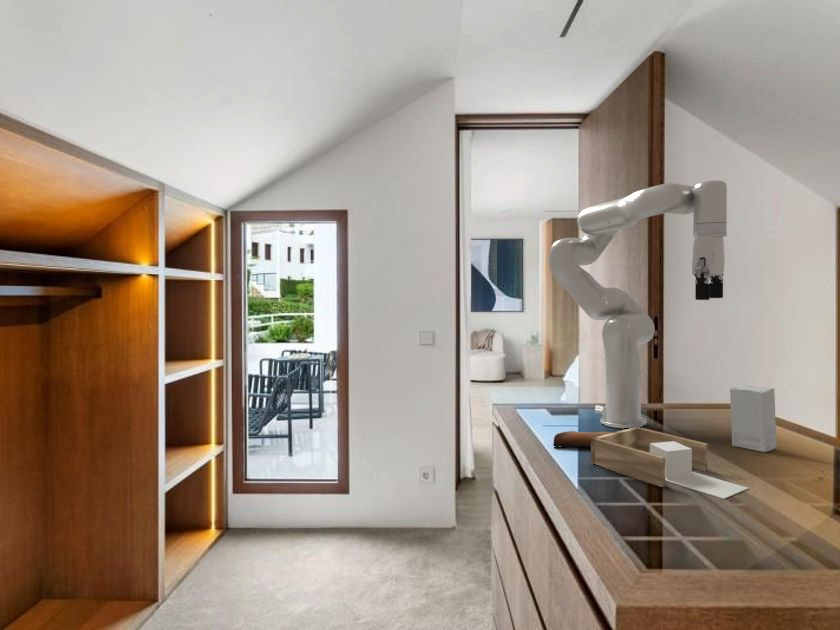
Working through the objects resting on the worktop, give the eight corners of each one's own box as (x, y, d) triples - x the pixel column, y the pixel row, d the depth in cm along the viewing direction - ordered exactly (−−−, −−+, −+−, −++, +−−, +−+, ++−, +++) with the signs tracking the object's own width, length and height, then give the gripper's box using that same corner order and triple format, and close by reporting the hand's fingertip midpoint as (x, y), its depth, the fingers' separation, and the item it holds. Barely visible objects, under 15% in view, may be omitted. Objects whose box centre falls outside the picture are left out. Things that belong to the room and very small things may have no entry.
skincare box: (776, 448, 139) (777, 388, 138) (764, 453, 136) (765, 391, 135) (741, 441, 146) (742, 383, 145) (728, 445, 143) (729, 386, 142)
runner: (611, 464, 132) (612, 463, 132) (637, 456, 136) (637, 455, 136) (723, 499, 110) (723, 498, 110) (748, 488, 115) (748, 487, 115)
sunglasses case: (623, 441, 149) (625, 422, 145) (627, 462, 143) (628, 443, 140) (552, 438, 153) (552, 421, 149) (553, 459, 147) (552, 441, 143)
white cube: (691, 476, 122) (692, 448, 121) (666, 479, 121) (666, 451, 120) (673, 467, 128) (673, 440, 127) (649, 470, 126) (649, 443, 126)
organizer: (661, 487, 117) (661, 458, 116) (591, 463, 132) (590, 438, 132) (707, 470, 126) (707, 443, 125) (636, 450, 141) (636, 426, 141)
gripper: (706, 233, 153) (705, 297, 155) (681, 231, 141) (681, 300, 142) (736, 231, 148) (736, 297, 149) (713, 228, 136) (713, 300, 137)
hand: (709, 298), depth 146 cm, fingers open, 9 cm apart
